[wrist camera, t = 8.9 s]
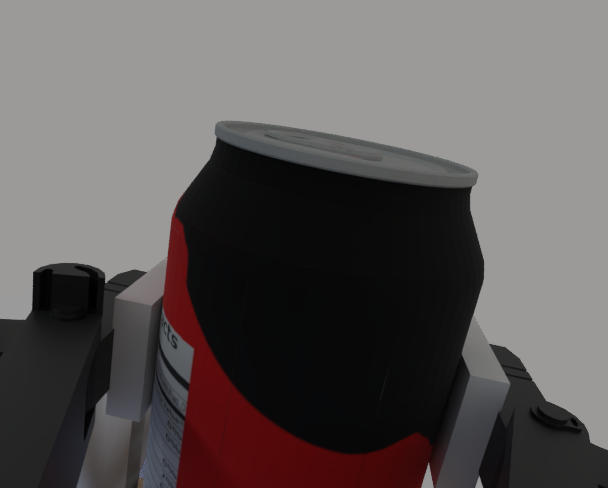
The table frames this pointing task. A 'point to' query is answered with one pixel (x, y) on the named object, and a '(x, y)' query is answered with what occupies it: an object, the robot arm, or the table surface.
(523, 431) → the robot arm
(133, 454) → the pulley stand
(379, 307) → the beverage can
